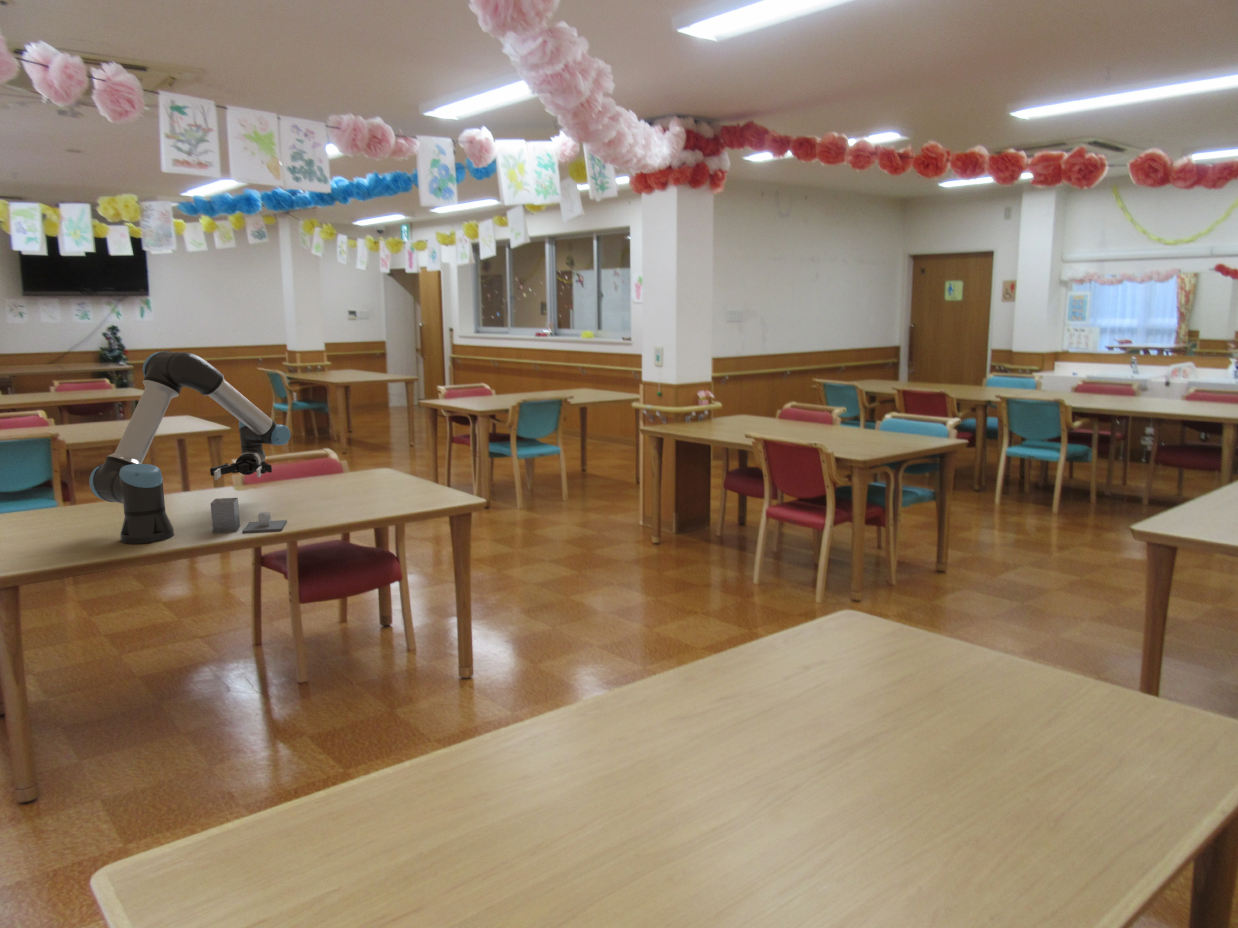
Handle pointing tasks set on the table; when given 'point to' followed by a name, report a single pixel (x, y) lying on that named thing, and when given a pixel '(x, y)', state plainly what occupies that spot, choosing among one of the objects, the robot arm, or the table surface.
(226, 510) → the grey upright block
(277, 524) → the base plate
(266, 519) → the post
